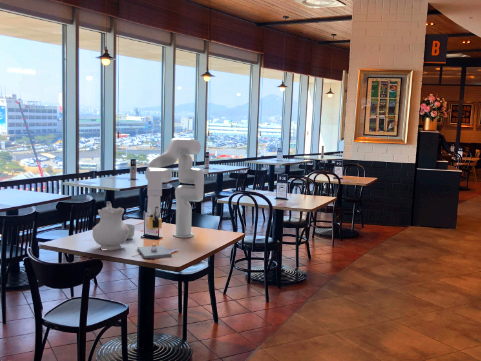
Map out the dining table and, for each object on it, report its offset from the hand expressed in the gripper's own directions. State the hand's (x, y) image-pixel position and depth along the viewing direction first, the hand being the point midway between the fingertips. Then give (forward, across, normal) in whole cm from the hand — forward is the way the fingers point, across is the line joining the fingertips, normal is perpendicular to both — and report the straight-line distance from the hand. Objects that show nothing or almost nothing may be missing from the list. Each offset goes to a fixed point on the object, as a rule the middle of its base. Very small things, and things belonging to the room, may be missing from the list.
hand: (154, 225), depth 249 cm
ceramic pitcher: (+15, -20, -20) cm, 32 cm away
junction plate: (+15, 0, 0) cm, 15 cm away
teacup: (+15, -36, -10) cm, 41 cm away
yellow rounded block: (+1, 0, 0) cm, 1 cm away
